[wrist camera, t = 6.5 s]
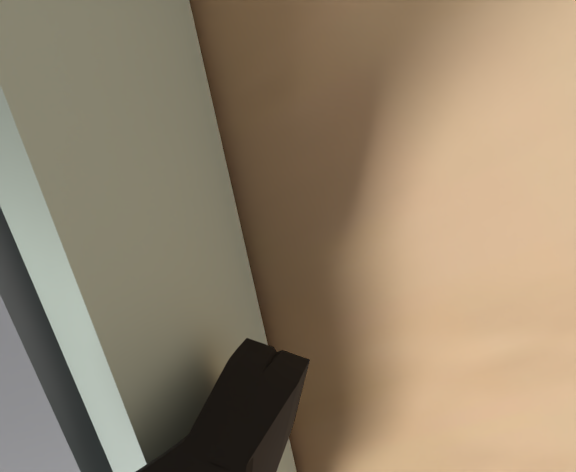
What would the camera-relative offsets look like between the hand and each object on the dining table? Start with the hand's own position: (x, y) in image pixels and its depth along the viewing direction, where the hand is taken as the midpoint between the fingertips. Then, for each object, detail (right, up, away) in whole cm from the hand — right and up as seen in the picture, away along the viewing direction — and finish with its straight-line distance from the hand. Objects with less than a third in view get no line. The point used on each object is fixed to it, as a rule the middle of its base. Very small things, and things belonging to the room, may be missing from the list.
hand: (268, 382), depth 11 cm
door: (-1, +1, +3) cm, 3 cm away
